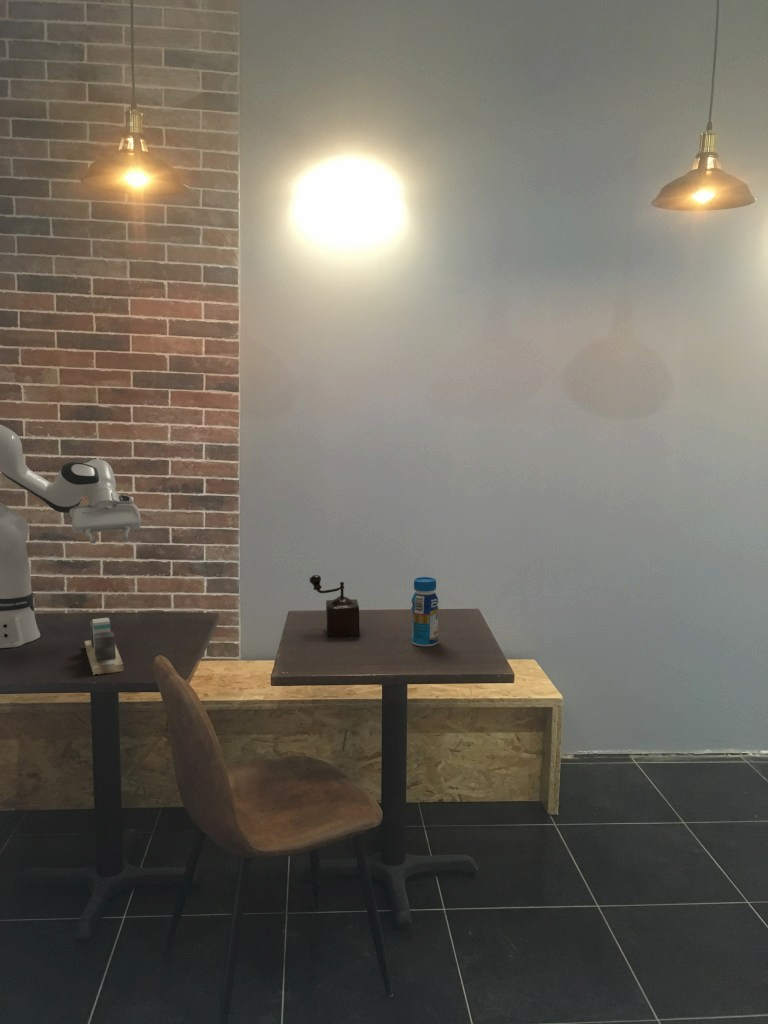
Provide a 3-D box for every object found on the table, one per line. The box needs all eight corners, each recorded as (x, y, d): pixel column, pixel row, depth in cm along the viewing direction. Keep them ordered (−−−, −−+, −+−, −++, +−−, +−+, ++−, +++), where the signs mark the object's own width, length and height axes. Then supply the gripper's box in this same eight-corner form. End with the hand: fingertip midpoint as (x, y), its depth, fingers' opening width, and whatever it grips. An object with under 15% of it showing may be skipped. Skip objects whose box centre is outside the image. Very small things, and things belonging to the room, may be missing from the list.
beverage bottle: (406, 640, 255) (407, 577, 251) (432, 637, 257) (432, 575, 254) (416, 648, 247) (417, 583, 244) (442, 645, 249) (443, 581, 246)
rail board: (93, 675, 225) (91, 643, 224) (85, 647, 248) (83, 618, 247) (123, 670, 228) (121, 639, 227) (112, 643, 252) (111, 615, 250)
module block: (95, 653, 235) (93, 623, 234) (94, 649, 239) (92, 619, 237) (111, 651, 237) (109, 621, 236) (110, 647, 241) (108, 617, 239)
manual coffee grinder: (357, 626, 270) (357, 572, 267) (360, 636, 259) (359, 580, 256) (310, 627, 268) (309, 573, 265) (310, 638, 257) (309, 582, 254)
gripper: (68, 500, 251) (73, 537, 244) (138, 496, 259) (144, 532, 252) (68, 513, 256) (72, 549, 248) (136, 508, 264) (142, 544, 257)
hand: (109, 540), depth 250 cm, fingers open, 8 cm apart
